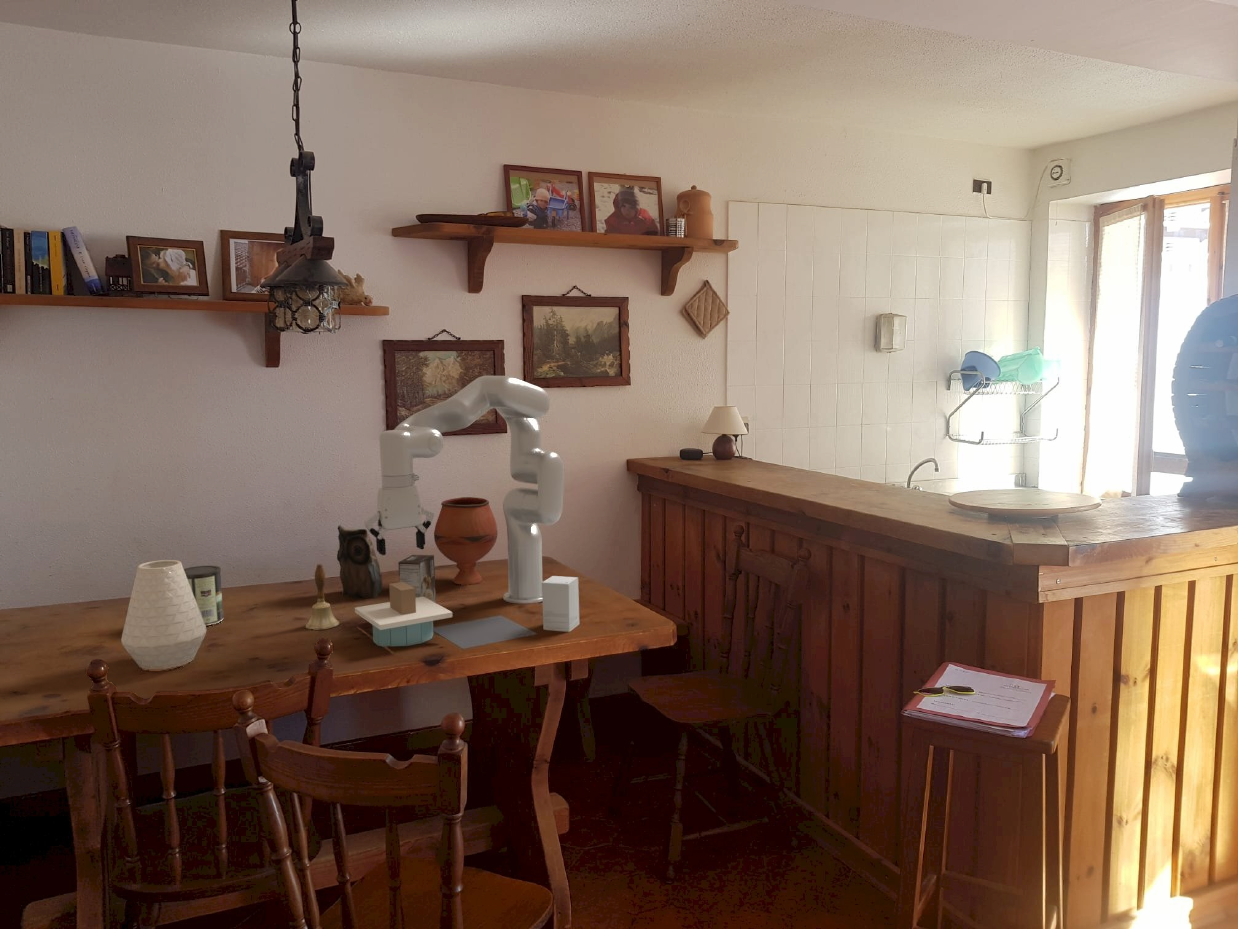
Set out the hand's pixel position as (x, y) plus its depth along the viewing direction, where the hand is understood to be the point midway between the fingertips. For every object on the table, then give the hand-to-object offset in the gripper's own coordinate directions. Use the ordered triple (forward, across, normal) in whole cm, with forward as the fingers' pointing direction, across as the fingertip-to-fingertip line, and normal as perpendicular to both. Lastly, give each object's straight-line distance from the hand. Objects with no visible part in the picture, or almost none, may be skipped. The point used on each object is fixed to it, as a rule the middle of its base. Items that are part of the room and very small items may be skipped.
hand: (401, 551), depth 229 cm
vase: (+21, +52, -14) cm, 58 cm away
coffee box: (+22, -9, -15) cm, 28 cm away
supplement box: (+22, -35, +15) cm, 44 cm away
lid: (+16, 0, 0) cm, 16 cm away
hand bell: (+22, +14, -23) cm, 34 cm away
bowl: (+22, +1, 0) cm, 22 cm away
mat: (+22, -17, +7) cm, 29 cm away
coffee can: (+22, +39, -44) cm, 62 cm away
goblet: (+23, -36, -43) cm, 60 cm away
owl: (+22, -6, -48) cm, 53 cm away
